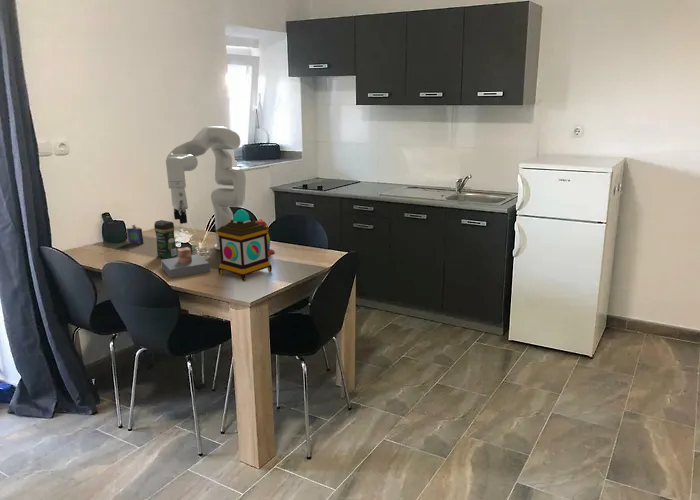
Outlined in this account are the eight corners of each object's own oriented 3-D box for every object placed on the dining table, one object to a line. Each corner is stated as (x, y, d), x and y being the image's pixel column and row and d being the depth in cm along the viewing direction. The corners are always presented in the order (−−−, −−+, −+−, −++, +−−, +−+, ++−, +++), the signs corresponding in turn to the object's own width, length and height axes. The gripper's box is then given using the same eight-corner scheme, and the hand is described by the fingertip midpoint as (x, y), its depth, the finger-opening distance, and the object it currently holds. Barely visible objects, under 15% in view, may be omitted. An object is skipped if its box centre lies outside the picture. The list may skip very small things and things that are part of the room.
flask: (127, 244, 321) (124, 225, 318) (130, 242, 324) (128, 224, 321) (142, 244, 319) (139, 225, 316) (145, 243, 321) (142, 224, 318)
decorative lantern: (247, 264, 280) (243, 203, 272) (276, 271, 268) (272, 207, 259) (214, 275, 265) (208, 210, 257) (243, 283, 253) (238, 215, 245)
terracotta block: (189, 259, 276) (187, 247, 274) (191, 261, 272) (190, 249, 270) (178, 260, 273) (177, 248, 272) (181, 263, 269) (179, 251, 268)
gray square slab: (199, 261, 285) (198, 254, 284) (210, 271, 270) (209, 263, 269) (161, 268, 277) (160, 259, 276) (170, 278, 262) (169, 269, 261)
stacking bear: (266, 258, 289) (264, 223, 284) (248, 256, 292) (245, 222, 288) (276, 252, 299) (274, 218, 294) (258, 250, 302) (256, 217, 297)
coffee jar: (154, 256, 295) (150, 221, 290) (167, 253, 302) (163, 218, 297) (167, 259, 290) (163, 223, 285) (179, 255, 296) (176, 220, 291)
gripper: (190, 186, 257) (194, 223, 262) (180, 181, 272) (184, 216, 276) (173, 187, 254) (177, 226, 258) (164, 182, 268) (168, 218, 273)
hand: (180, 221), depth 267 cm, fingers open, 9 cm apart
